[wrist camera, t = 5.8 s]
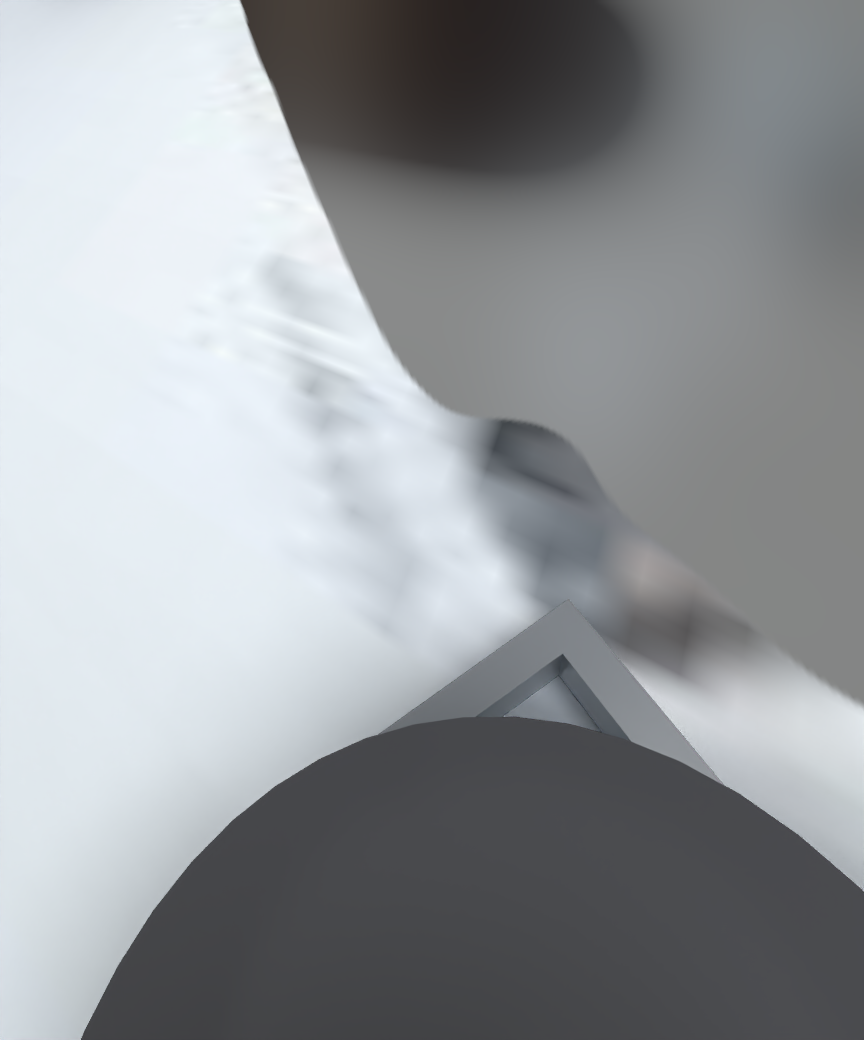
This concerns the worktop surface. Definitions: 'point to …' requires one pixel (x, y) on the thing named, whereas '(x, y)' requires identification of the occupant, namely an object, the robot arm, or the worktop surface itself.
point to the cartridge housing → (584, 669)
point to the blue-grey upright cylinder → (497, 904)
